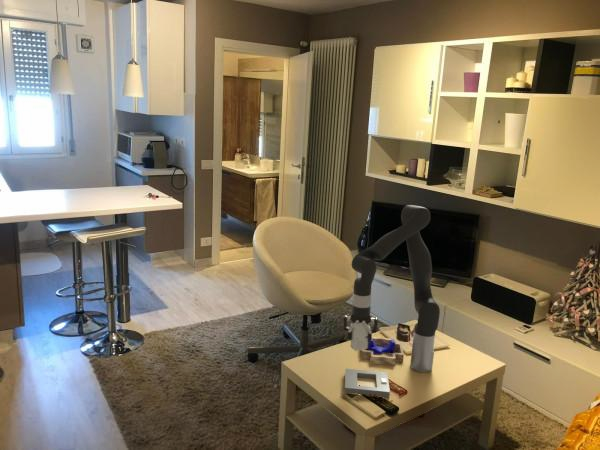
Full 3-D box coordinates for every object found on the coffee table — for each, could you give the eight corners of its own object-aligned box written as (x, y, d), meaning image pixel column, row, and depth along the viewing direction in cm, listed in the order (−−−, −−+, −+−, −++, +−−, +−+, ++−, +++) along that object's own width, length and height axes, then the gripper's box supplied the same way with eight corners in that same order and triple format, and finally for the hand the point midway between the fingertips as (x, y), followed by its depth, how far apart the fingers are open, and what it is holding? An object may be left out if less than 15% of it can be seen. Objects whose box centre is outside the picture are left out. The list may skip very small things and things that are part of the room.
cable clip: (368, 353, 237) (369, 342, 235) (368, 349, 241) (369, 337, 240) (394, 355, 236) (395, 343, 235) (393, 350, 240) (394, 339, 239)
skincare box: (355, 351, 205) (356, 324, 202) (349, 346, 209) (351, 320, 206) (368, 348, 208) (369, 322, 205) (362, 344, 212) (364, 317, 209)
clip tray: (400, 346, 245) (400, 339, 244) (403, 366, 227) (404, 359, 226) (361, 342, 247) (361, 336, 246) (361, 362, 228) (362, 355, 227)
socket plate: (386, 378, 216) (387, 371, 215) (389, 398, 201) (390, 390, 200) (345, 374, 217) (345, 367, 216) (344, 394, 203) (345, 386, 202)
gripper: (379, 301, 206) (376, 337, 211) (344, 298, 208) (342, 334, 212) (379, 308, 199) (377, 345, 203) (343, 305, 201) (341, 343, 205)
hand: (359, 340), depth 208 cm, fingers closed on skincare box, 7 cm apart
